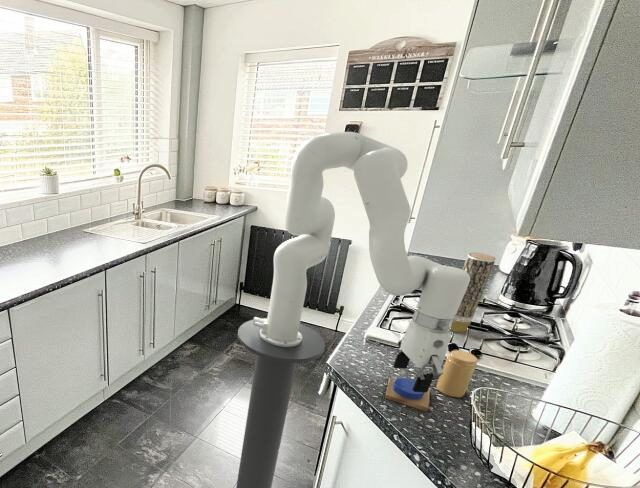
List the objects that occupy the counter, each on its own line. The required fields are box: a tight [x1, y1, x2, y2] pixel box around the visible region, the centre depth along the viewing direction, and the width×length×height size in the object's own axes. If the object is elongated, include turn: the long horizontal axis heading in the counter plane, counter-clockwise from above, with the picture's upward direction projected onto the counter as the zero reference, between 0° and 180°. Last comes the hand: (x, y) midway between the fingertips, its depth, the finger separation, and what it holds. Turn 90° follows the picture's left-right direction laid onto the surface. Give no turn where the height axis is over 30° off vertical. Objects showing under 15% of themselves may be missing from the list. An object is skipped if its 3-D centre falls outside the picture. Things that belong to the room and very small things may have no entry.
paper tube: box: [449, 252, 497, 334], centre depth 133 cm, size 7×7×25 cm
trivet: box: [384, 377, 431, 412], centre depth 106 cm, size 9×9×1 cm
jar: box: [435, 349, 479, 398], centre depth 106 cm, size 6×6×10 cm
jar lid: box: [392, 377, 425, 400], centre depth 106 cm, size 7×7×2 cm
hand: (409, 379), depth 105 cm, fingers open, 9 cm apart
